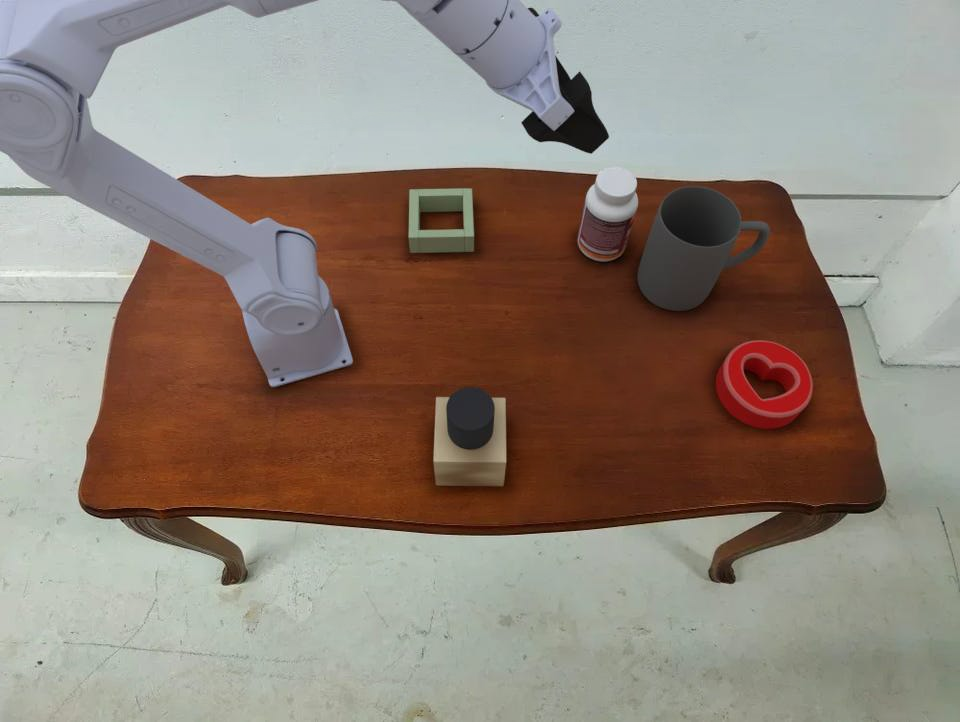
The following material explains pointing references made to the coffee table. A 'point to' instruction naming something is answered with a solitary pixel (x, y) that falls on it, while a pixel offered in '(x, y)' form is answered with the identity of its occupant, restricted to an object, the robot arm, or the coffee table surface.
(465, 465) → the stand
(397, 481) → the coffee table surface
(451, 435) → the pad plug
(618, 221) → the pill bottle
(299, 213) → the coffee table surface
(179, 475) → the coffee table surface
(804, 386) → the decorative ornament
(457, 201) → the holder
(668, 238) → the mug
